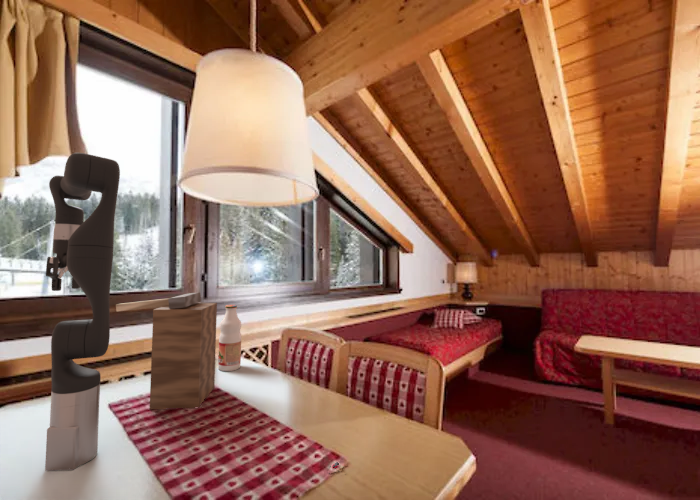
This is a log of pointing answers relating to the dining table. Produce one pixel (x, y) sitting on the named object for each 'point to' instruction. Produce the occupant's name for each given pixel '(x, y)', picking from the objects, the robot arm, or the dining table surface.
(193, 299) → the scraper
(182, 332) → the stand
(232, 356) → the fruit juice
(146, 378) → the dining table surface
